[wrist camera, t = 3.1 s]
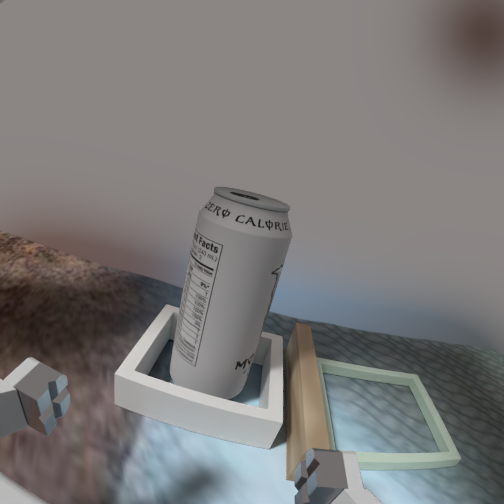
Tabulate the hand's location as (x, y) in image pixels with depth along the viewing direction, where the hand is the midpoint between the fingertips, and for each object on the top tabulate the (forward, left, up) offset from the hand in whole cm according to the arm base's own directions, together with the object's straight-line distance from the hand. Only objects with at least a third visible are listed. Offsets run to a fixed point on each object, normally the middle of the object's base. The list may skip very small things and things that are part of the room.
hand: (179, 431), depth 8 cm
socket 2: (+15, +13, -9) cm, 22 cm away
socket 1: (0, +13, -9) cm, 16 cm away
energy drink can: (0, +13, -9) cm, 16 cm away
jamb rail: (+7, +13, -9) cm, 18 cm away
